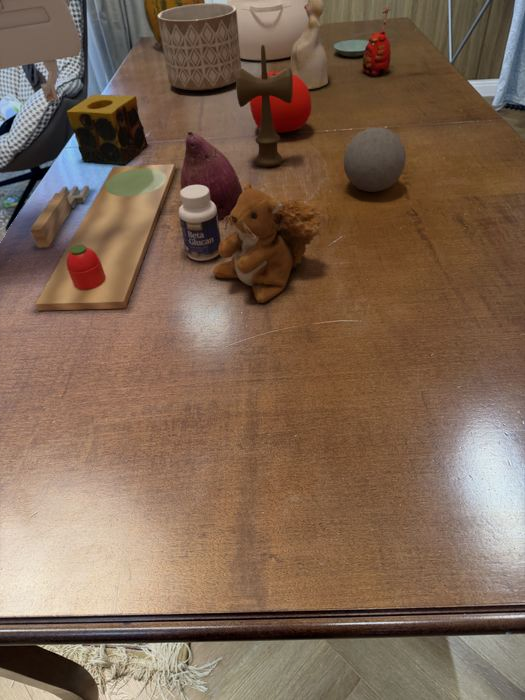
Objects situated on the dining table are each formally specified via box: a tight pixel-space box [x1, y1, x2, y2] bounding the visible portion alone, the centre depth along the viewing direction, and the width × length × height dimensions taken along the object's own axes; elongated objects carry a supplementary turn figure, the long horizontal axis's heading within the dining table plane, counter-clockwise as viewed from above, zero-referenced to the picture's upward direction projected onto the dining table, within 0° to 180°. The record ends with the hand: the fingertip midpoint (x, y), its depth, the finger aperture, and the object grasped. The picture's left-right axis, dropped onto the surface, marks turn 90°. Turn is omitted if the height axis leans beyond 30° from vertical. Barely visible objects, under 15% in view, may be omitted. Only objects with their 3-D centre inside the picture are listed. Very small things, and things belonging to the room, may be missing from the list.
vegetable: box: [180, 129, 243, 221], centre depth 80 cm, size 10×10×15 cm
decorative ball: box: [343, 126, 407, 193], centre depth 83 cm, size 10×10×10 cm
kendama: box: [235, 45, 293, 168], centre depth 89 cm, size 6×10×20 cm, turn 86°
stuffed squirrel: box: [212, 182, 324, 304], centre depth 66 cm, size 10×14×13 cm
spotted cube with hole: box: [66, 94, 149, 165], centre depth 101 cm, size 10×10×10 cm
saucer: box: [333, 39, 369, 58], centre depth 146 cm, size 12×12×2 cm
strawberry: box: [67, 245, 105, 290], centre depth 68 cm, size 4×4×5 cm
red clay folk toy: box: [362, 3, 392, 77], centre depth 127 cm, size 8×7×15 cm
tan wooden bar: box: [29, 185, 91, 249], centre depth 85 cm, size 18×5×3 cm, turn 178°
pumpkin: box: [143, 0, 206, 47], centre depth 156 cm, size 19×19×25 cm
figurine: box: [289, 0, 330, 92], centre depth 123 cm, size 12×10×20 cm
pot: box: [226, 0, 309, 62], centre depth 148 cm, size 29×26×16 cm
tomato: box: [249, 70, 312, 134], centre depth 104 cm, size 12×14×11 cm
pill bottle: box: [178, 185, 222, 262], centre depth 72 cm, size 5×5×10 cm
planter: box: [158, 2, 242, 92], centre depth 128 cm, size 19×19×16 cm
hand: (14, 107), depth 64 cm, fingers open, 8 cm apart
